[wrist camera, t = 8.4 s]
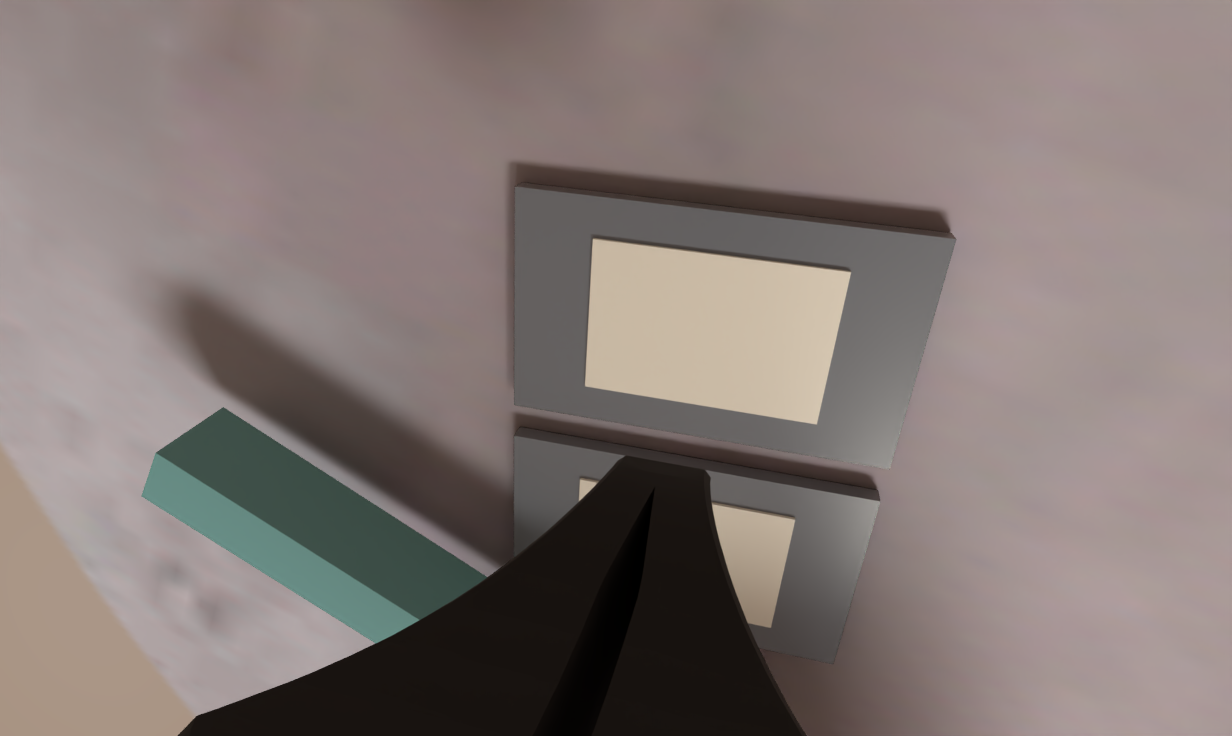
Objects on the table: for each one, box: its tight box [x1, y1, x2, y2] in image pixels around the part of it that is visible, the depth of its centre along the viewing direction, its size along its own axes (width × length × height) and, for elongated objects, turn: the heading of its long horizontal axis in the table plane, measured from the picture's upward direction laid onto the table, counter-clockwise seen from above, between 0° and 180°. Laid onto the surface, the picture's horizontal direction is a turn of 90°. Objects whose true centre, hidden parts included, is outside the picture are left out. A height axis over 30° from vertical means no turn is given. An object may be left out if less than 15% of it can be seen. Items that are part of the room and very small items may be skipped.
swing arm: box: [142, 407, 487, 643], centre depth 20 cm, size 19×4×4 cm, turn 58°
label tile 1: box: [514, 183, 956, 470], centre depth 18 cm, size 6×10×1 cm, turn 86°
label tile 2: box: [514, 427, 880, 664], centre depth 21 cm, size 6×10×1 cm, turn 86°
